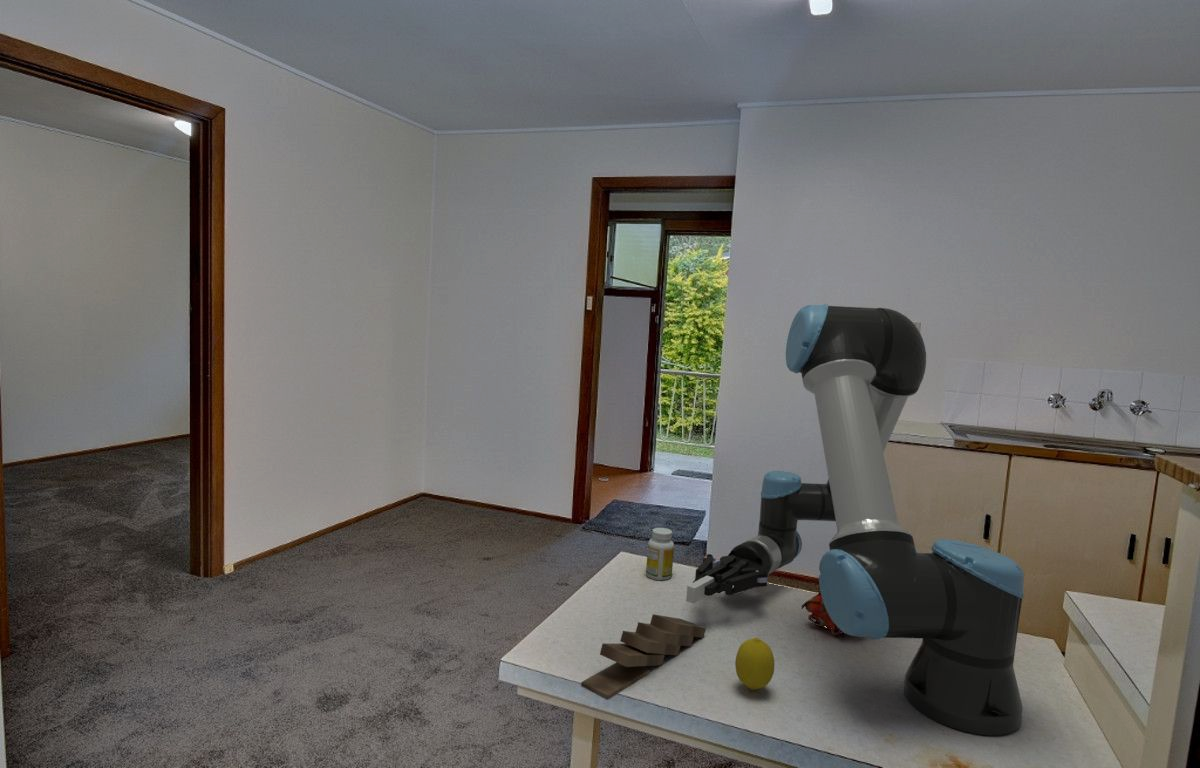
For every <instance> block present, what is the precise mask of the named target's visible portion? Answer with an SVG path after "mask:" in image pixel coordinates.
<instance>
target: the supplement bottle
mask: <svg viewBox="0 0 1200 768" xmlns="http://www.w3.org/2000/svg"><path fill="white" fill-rule="evenodd" d="M672 538H673V531H672V530H671V529H670V528H666V527H655V528H653V529H652V531H651V538H650V539H649V540H648V543H647V552H646V553H647V554H646V564H645V565H646V568H645V574H646V576H647V577H648V578H649V579H652V580H654V581H666V580H669V579H671V578H672V576H673V566H674V565H673V564H674V555H675V554H674V553H675V543H674V541H673V540H672Z"/></svg>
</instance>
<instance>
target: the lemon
mask: <svg viewBox="0 0 1200 768" xmlns="http://www.w3.org/2000/svg"><path fill="white" fill-rule="evenodd" d="M736 652H737V653H736V655H735V672H736V676H737V678H738V680H739V681H740V682H741V683H742V685H744V686H746V687H747V688H749V690H750V691H752V692H753V691H755V690H758V689H759V690H760V689H762V688H764V687H766V686H768V685H769V683H770V682H771V680H772V678H773V676H774V672H775V657H774V653H773V650H772V648H771V647H770V645H769V644H768V643H766V642H765V641H764V640H762V639H761V638H760V637H757V636H756V637H753V638H749V639H747V640H745V641H744V642H743V643H741V644H740V646H739V648H738V650H737V651H736Z"/></svg>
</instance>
